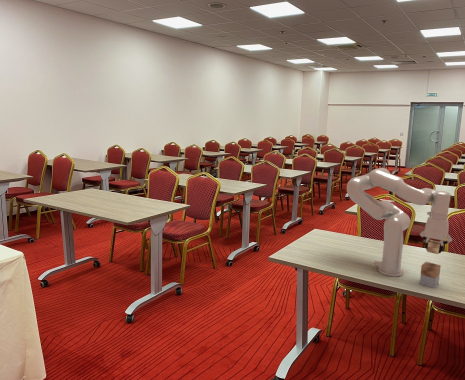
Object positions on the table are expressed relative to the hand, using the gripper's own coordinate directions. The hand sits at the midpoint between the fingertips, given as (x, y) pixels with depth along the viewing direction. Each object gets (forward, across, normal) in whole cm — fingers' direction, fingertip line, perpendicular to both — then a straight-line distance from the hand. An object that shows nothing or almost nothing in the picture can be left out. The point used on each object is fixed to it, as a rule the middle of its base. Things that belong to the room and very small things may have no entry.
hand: (433, 250), depth 196 cm
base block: (+17, 0, -1) cm, 17 cm away
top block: (+12, 0, -1) cm, 12 cm away
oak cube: (+1, 0, 0) cm, 1 cm away
